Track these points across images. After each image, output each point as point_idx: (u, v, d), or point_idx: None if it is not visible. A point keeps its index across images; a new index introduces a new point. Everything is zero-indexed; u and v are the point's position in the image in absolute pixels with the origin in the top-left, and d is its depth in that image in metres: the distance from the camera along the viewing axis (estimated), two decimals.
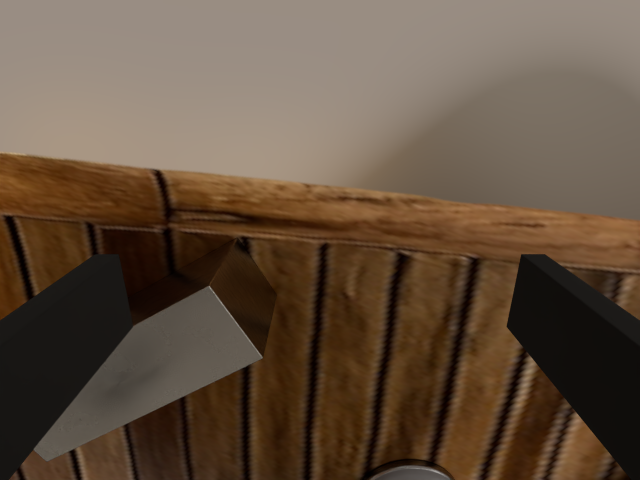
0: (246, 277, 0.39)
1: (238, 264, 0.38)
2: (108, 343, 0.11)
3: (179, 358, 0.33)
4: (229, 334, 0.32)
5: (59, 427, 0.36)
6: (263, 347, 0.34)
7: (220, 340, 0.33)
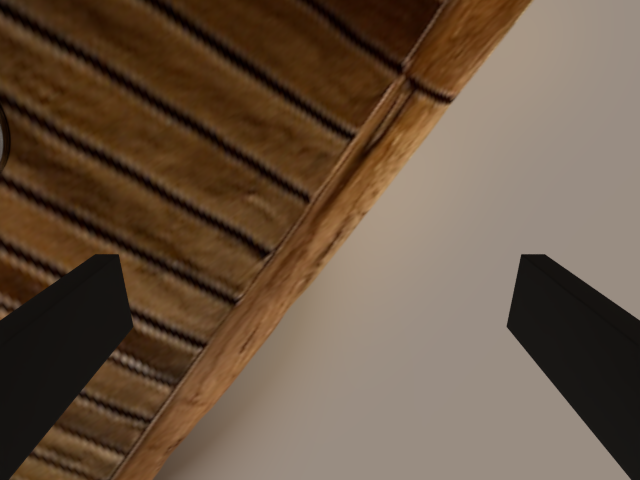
0: None
1: None
2: (108, 344, 0.11)
3: None
4: None
5: None
6: None
7: None
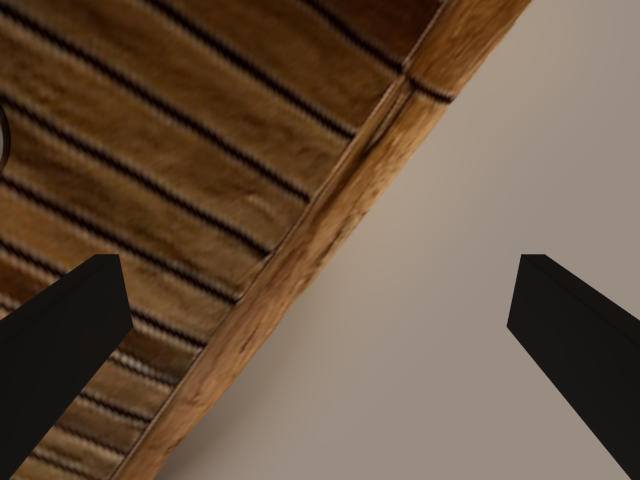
0: None
1: None
2: (108, 344, 0.11)
3: None
4: None
5: None
6: None
7: None
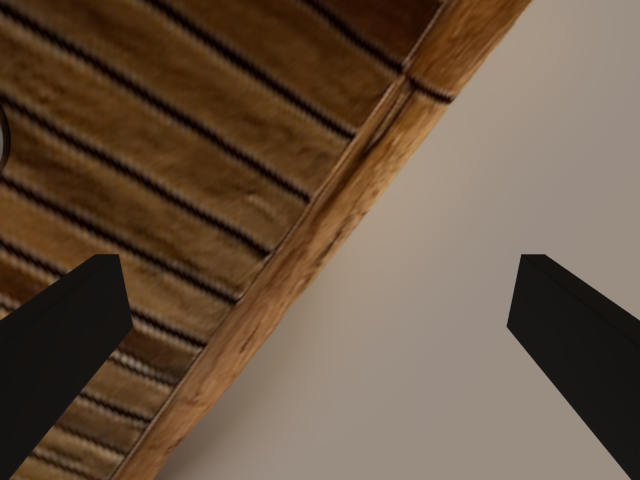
0: None
1: None
2: (108, 344, 0.11)
3: None
4: None
5: None
6: None
7: None
